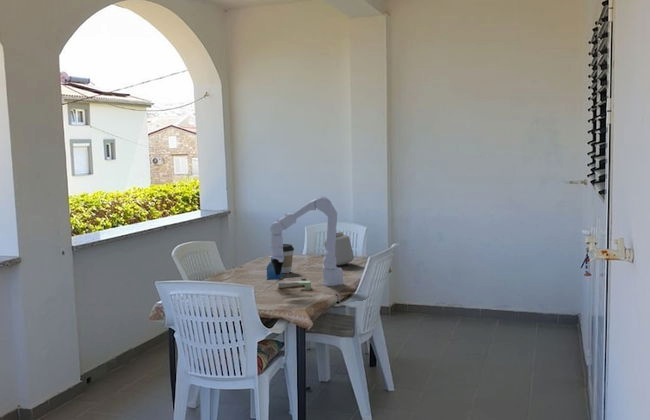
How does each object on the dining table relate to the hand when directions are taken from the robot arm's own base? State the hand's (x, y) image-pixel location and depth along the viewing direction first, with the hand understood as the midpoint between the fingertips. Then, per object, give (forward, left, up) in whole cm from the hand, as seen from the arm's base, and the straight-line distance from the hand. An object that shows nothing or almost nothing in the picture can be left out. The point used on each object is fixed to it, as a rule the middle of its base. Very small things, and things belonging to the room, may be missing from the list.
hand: (277, 274), depth 295 cm
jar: (-47, -41, -7) cm, 63 cm away
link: (-6, +7, -5) cm, 10 cm away
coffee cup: (-13, -34, -7) cm, 37 cm away
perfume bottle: (-4, -21, -7) cm, 23 cm away
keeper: (-9, +13, -5) cm, 17 cm away
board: (-6, +12, -7) cm, 15 cm away
